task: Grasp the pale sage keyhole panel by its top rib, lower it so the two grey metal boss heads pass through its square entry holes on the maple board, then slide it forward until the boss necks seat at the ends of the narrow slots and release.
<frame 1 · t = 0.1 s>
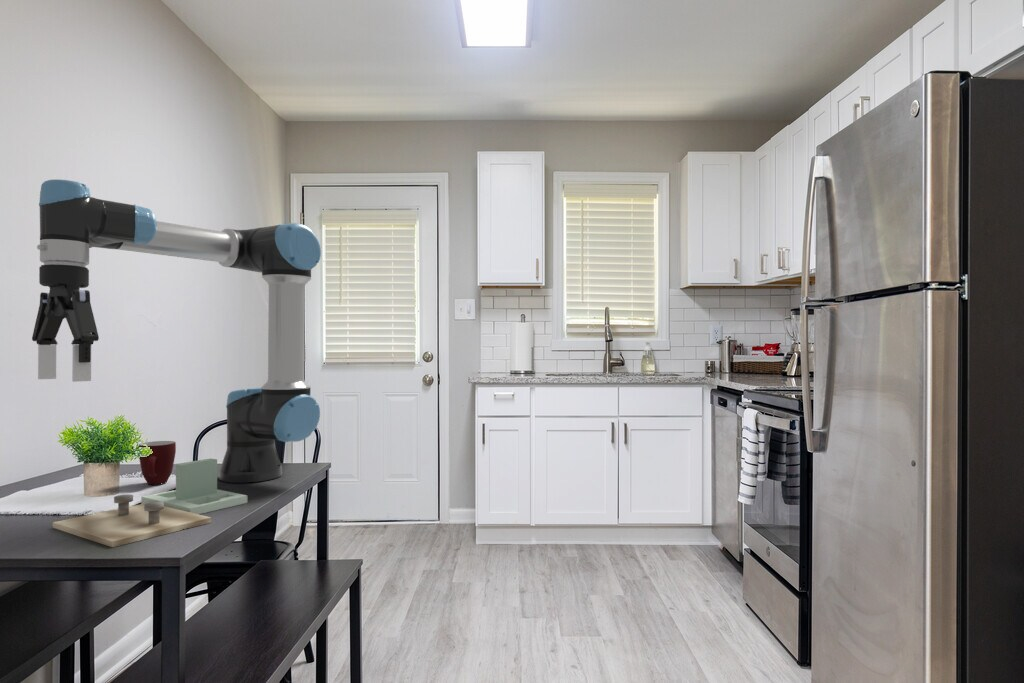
hand: (63, 380, 118), 28 cm above the table, fingers open, 13 cm apart
boss board: (133, 525, 122), on the table
panel: (194, 503, 139), on the table
mug: (156, 485, 157), on the table
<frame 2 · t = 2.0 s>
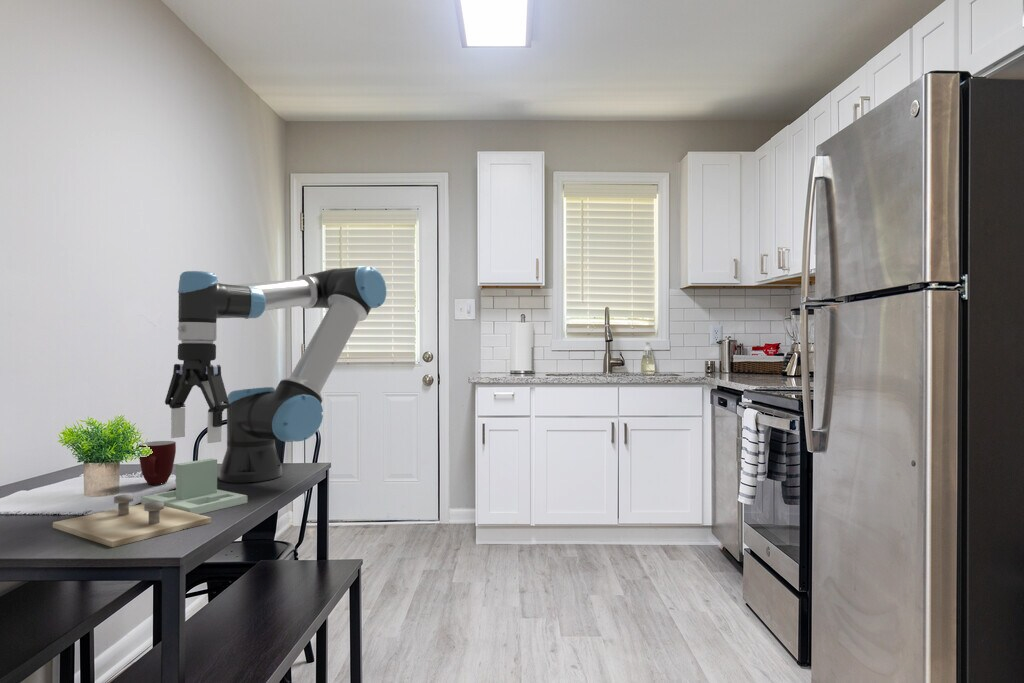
hand: (195, 439, 139), 14 cm above the table, fingers open, 13 cm apart
nothing on the table moved.
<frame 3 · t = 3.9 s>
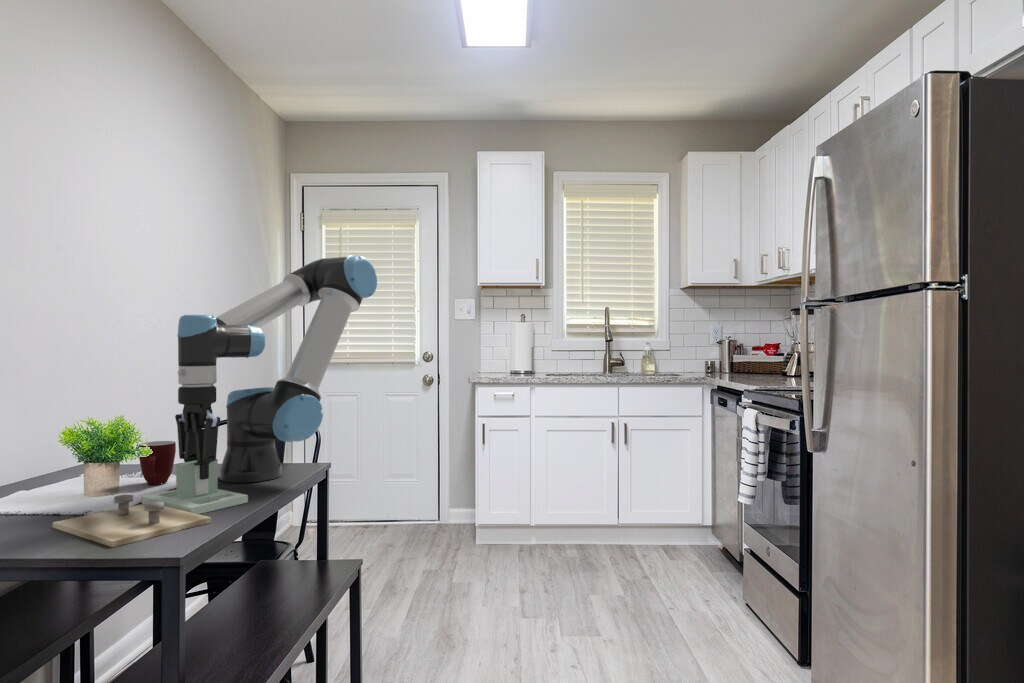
hand: (197, 492, 139), 2 cm above the table, fingers closed on panel, 2 cm apart
panel: (195, 503, 139), on the table, touching gripper
everything else where it was.
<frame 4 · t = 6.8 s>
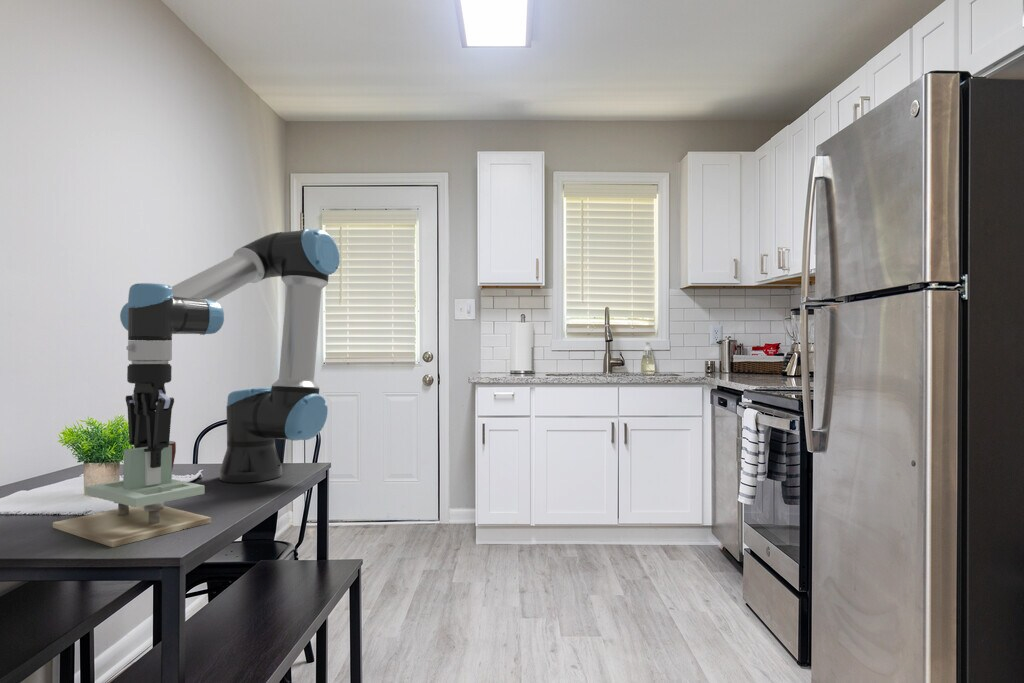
hand: (148, 483, 124), 8 cm above the table, fingers closed on panel, 2 cm apart
panel: (145, 494, 124), point 5 cm above the table, touching gripper
everything else where it was.
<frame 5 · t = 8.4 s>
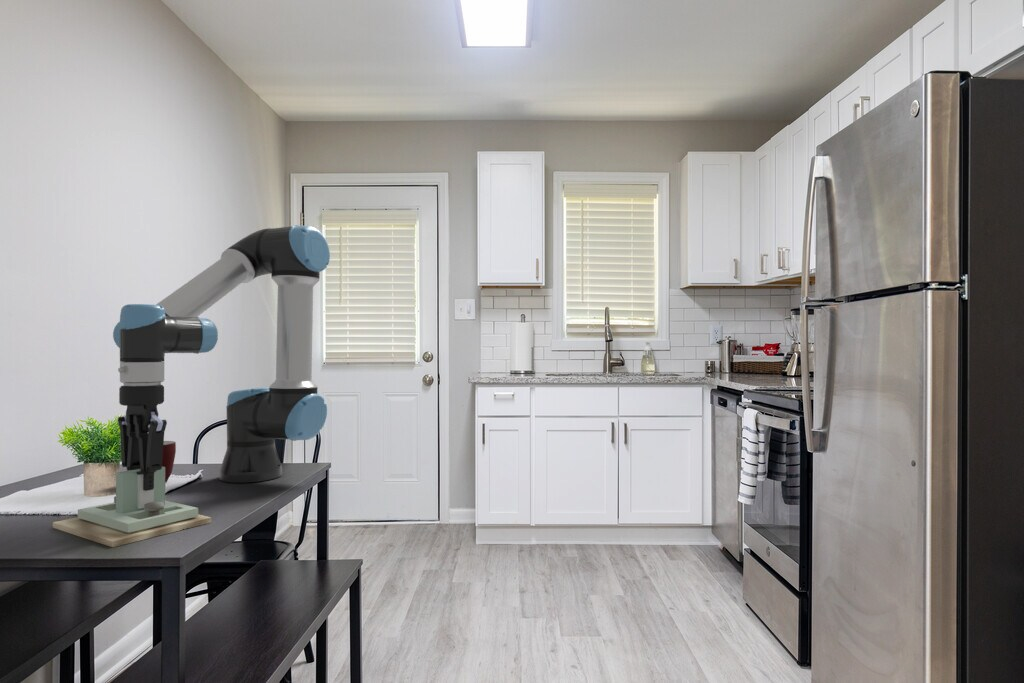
hand: (141, 505, 123), 3 cm above the table, fingers closed on panel, 2 cm apart
panel: (138, 517, 123), point 1 cm above the table, touching gripper
everything else where it was.
when the fingers open (3 cm above the table, at t = 10.0 s): panel stays where it is, resting on boss board.
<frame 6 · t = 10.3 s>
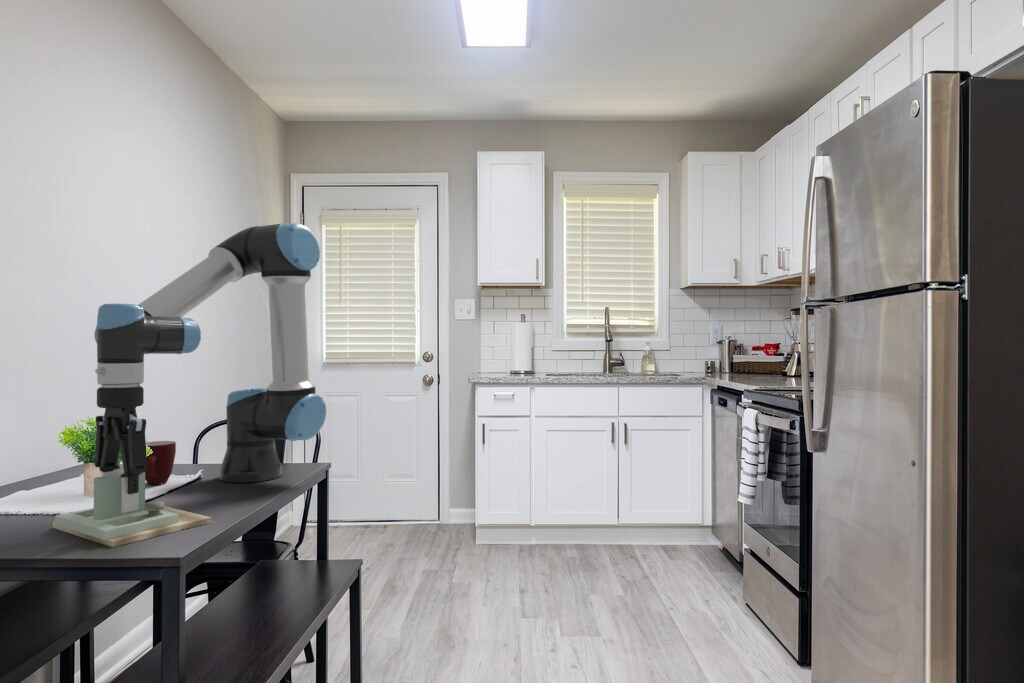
hand: (119, 507, 120), 4 cm above the table, fingers open, 7 cm apart
panel: (117, 523, 119), point 1 cm above the table, touching boss board
everything else where it was.
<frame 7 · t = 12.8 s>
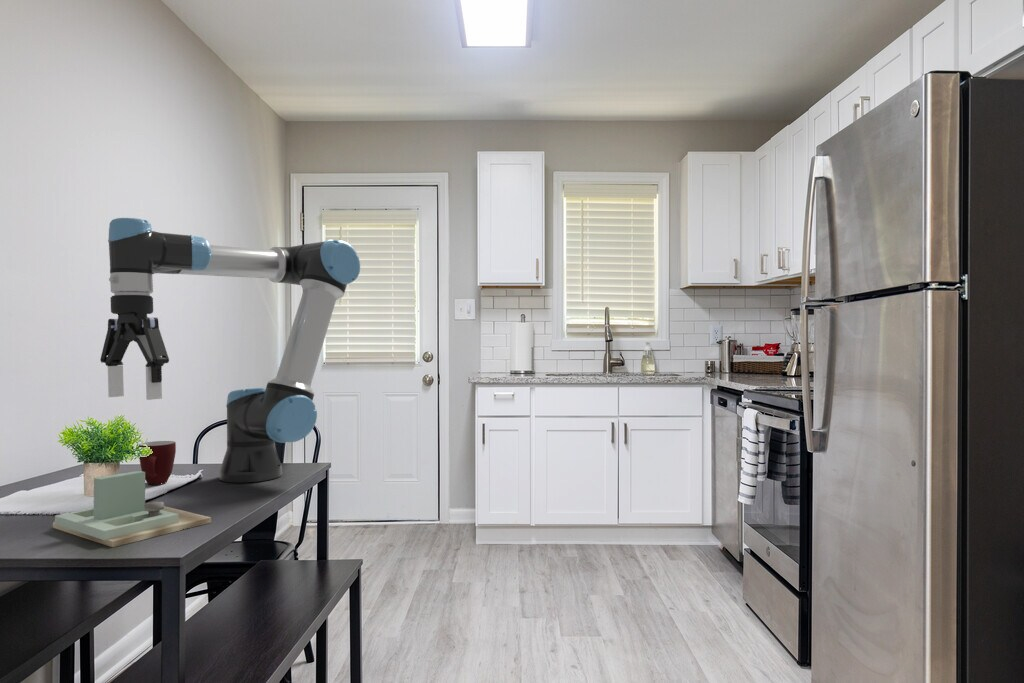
hand: (134, 398, 131), 24 cm above the table, fingers open, 13 cm apart
nothing on the table moved.
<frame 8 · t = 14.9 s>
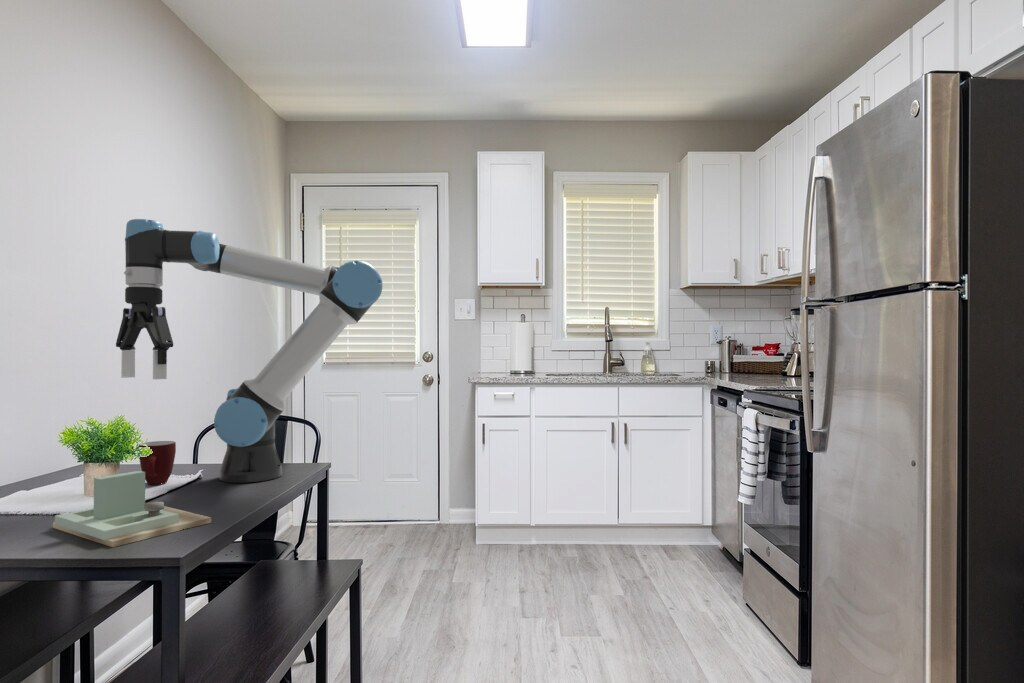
hand: (143, 378, 148), 27 cm above the table, fingers open, 13 cm apart
nothing on the table moved.
at the end: panel 0.1 cm from the target spot on the boss board, point 1.0 cm above the boss board's base; panel tilted 0°; the gripper is holding nothing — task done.
